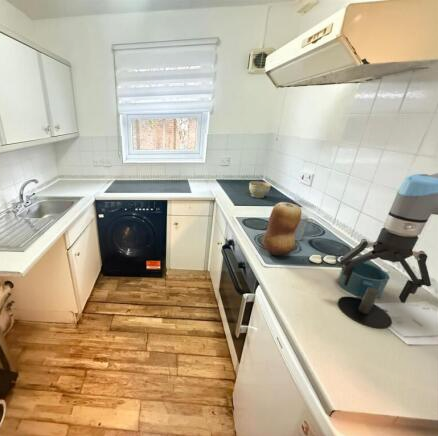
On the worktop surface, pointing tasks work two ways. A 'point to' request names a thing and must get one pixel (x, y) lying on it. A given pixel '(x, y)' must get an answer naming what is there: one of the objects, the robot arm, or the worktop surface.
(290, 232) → the butternut squash
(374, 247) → the robot arm
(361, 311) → the lid
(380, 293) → the pot
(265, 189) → the planter bowl
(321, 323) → the worktop surface
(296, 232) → the clear glass cylinder
